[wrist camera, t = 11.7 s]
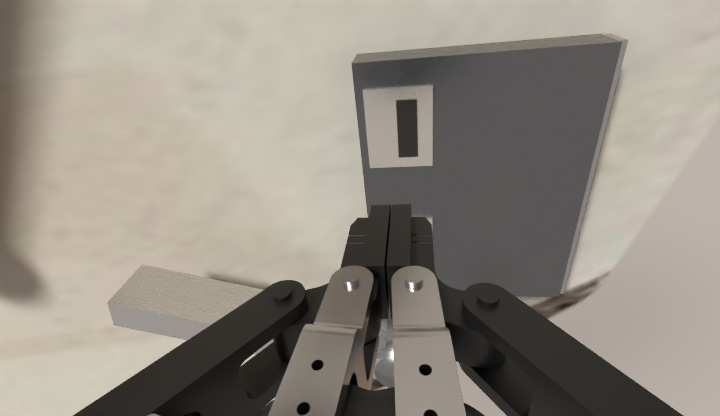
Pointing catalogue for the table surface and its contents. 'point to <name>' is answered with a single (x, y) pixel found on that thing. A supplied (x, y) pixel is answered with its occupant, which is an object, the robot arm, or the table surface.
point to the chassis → (490, 150)
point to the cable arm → (203, 309)
